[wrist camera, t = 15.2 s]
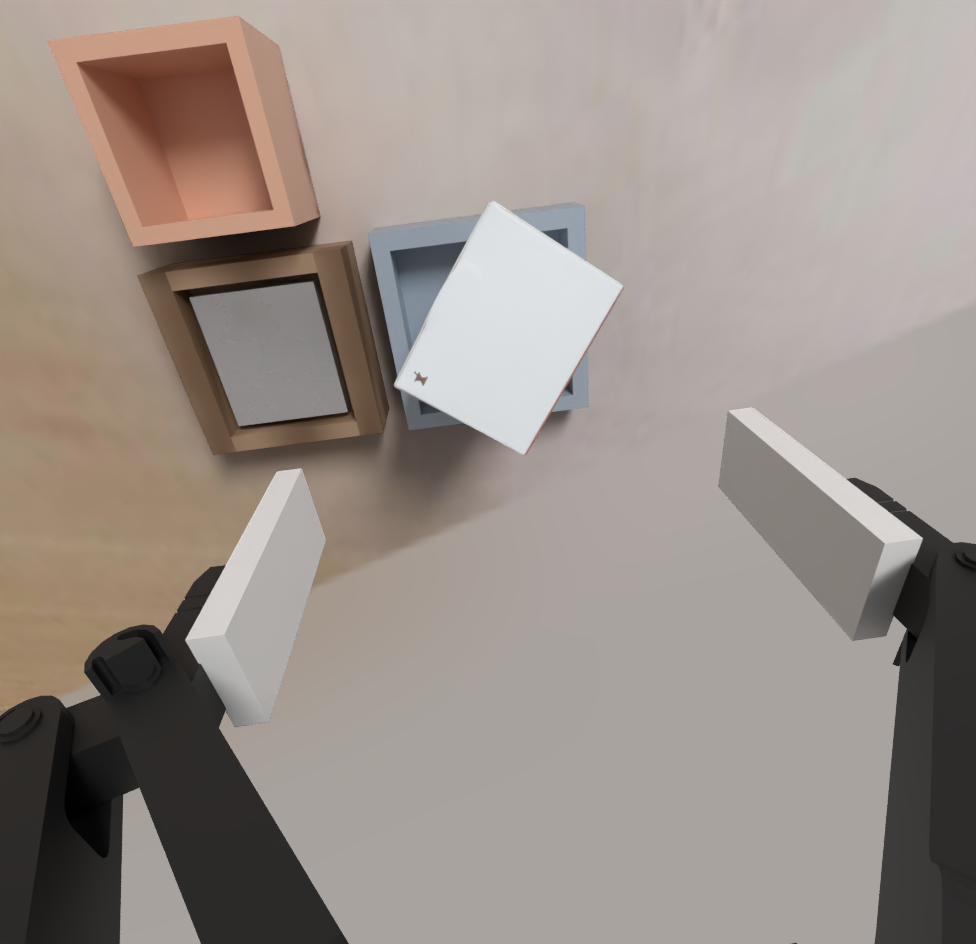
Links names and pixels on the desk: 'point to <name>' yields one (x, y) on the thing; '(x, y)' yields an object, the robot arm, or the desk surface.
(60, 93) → the desk surface
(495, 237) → the small box
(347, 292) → the brown wooden square tray
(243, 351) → the plate
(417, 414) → the tray
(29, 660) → the desk surface
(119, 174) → the pink open box
